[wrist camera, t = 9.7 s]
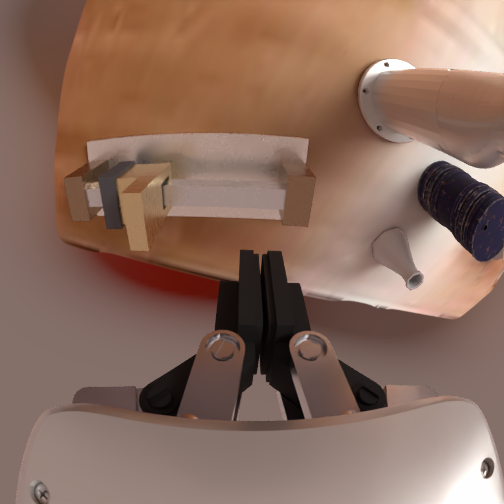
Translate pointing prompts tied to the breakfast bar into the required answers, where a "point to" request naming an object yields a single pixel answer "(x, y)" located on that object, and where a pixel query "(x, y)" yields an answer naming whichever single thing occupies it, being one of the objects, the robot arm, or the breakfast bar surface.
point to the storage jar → (464, 208)
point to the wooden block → (143, 202)
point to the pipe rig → (207, 174)
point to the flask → (397, 256)
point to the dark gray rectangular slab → (112, 194)
